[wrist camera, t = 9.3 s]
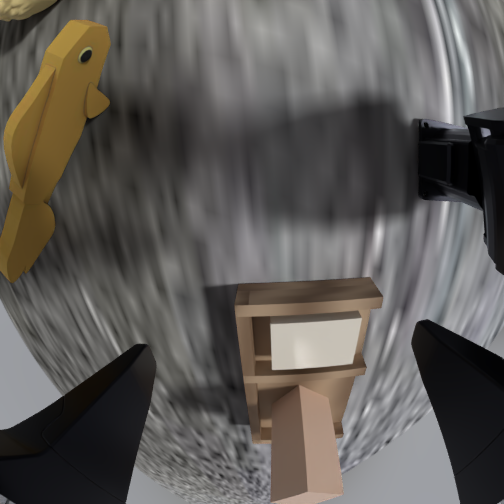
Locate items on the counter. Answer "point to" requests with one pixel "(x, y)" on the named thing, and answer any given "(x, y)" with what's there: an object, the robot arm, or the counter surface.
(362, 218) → the counter surface
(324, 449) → the clay bar
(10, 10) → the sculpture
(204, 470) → the counter surface
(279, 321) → the clay tile
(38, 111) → the decorative fish
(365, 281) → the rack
